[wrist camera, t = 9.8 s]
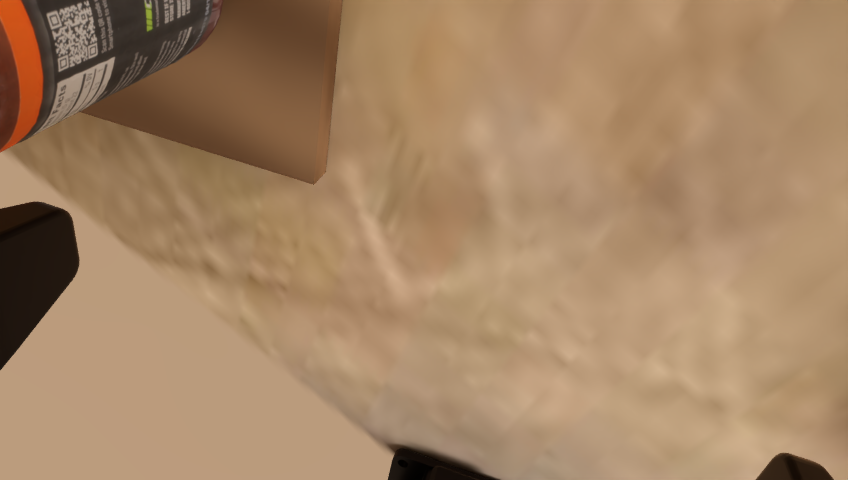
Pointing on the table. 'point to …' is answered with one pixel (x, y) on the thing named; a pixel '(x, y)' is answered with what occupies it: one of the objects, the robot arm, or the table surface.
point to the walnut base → (247, 88)
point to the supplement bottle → (87, 53)
